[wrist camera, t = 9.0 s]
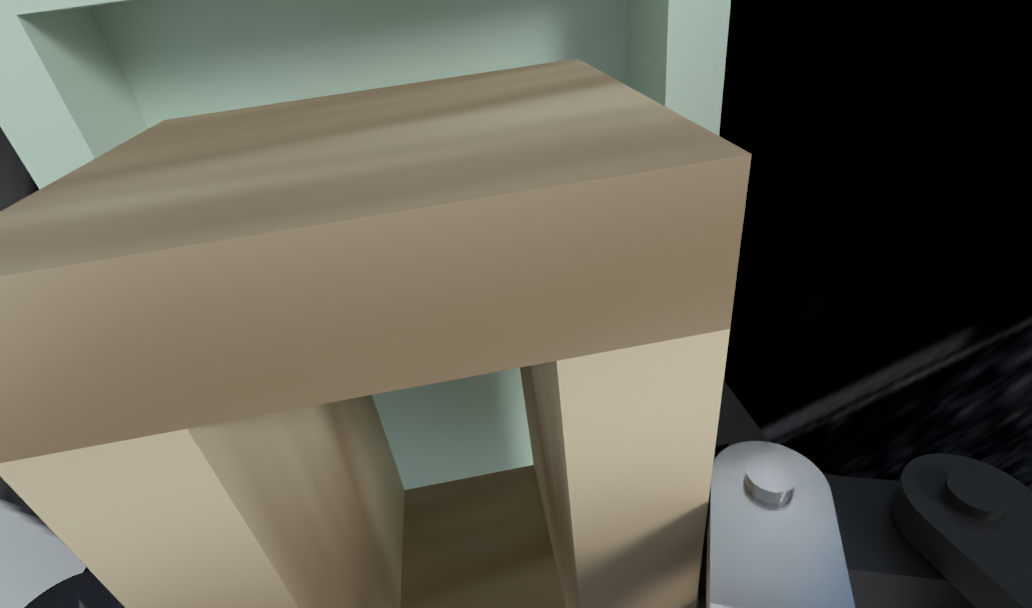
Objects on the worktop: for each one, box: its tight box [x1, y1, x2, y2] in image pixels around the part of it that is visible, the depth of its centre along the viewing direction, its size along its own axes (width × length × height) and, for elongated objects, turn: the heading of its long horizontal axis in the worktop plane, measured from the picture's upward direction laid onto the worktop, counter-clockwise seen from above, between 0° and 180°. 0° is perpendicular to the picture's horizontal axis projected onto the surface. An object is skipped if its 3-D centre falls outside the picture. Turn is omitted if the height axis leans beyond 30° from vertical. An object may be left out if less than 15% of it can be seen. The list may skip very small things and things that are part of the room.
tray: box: [0, 0, 731, 490], centre depth 12 cm, size 11×17×2 cm, turn 7°
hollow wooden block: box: [0, 59, 752, 608], centre depth 9 cm, size 12×6×5 cm, turn 7°
